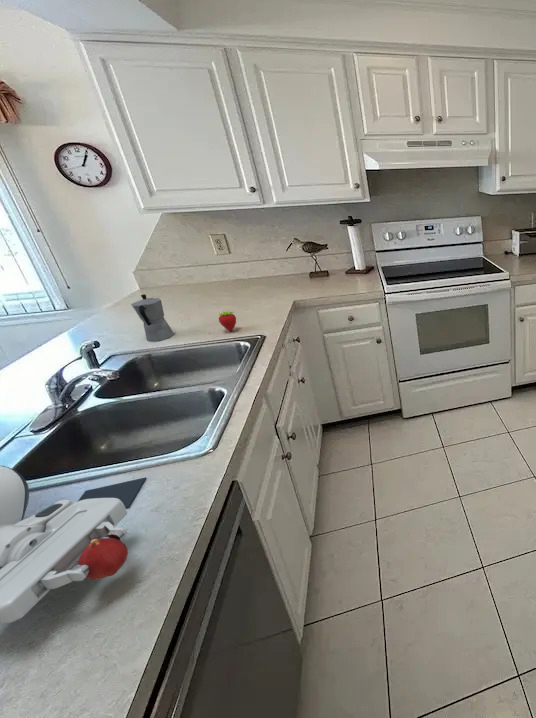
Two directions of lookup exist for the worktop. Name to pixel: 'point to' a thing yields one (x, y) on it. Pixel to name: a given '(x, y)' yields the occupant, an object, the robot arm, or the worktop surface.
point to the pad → (117, 491)
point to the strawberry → (227, 320)
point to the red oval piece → (103, 557)
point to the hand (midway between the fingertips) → (105, 552)
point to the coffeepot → (153, 318)
